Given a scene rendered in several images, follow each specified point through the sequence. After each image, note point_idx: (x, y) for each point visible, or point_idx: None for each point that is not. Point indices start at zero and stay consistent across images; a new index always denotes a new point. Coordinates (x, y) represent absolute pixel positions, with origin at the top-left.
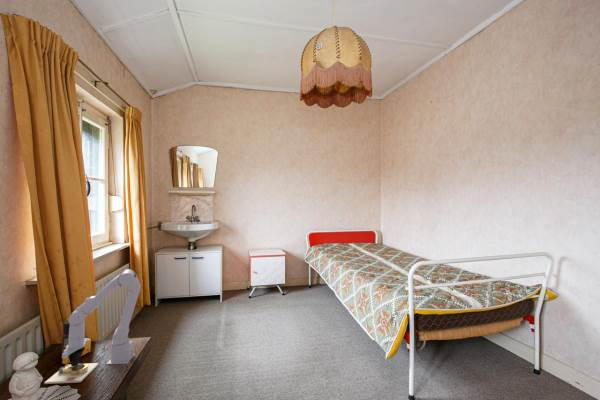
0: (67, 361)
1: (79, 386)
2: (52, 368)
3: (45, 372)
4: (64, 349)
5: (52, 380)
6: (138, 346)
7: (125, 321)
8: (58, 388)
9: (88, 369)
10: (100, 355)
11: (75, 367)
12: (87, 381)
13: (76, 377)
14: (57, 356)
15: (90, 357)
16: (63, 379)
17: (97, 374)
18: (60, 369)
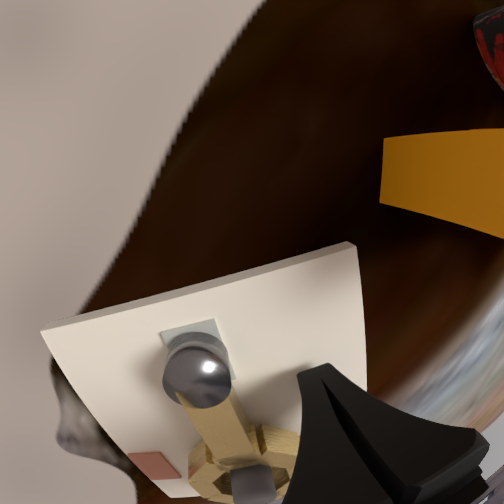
0: (400, 207)
1: (145, 496)
2: (279, 114)
3: (189, 113)
4: (500, 35)
5: (79, 375)
6: (487, 420)
7: None
8: (78, 439)
9: None
10: (469, 352)
11: (242, 466)
12: (190, 501)
13: (181, 476)
14: (440, 14)
15: (461, 314)
16: (128, 434)
17: None
18: (165, 390)
